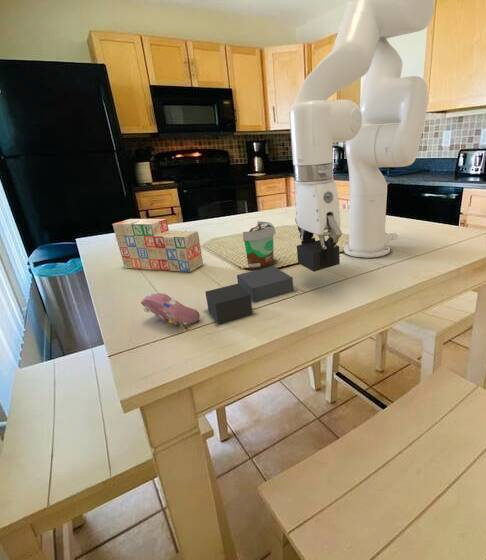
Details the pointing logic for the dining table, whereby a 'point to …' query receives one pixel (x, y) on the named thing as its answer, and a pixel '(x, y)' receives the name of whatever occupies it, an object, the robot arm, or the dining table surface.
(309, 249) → the charcoal pad
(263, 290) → the base pad
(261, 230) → the food container
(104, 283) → the dining table surface
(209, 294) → the black pad
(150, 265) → the stack of blocks
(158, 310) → the pink toy car
